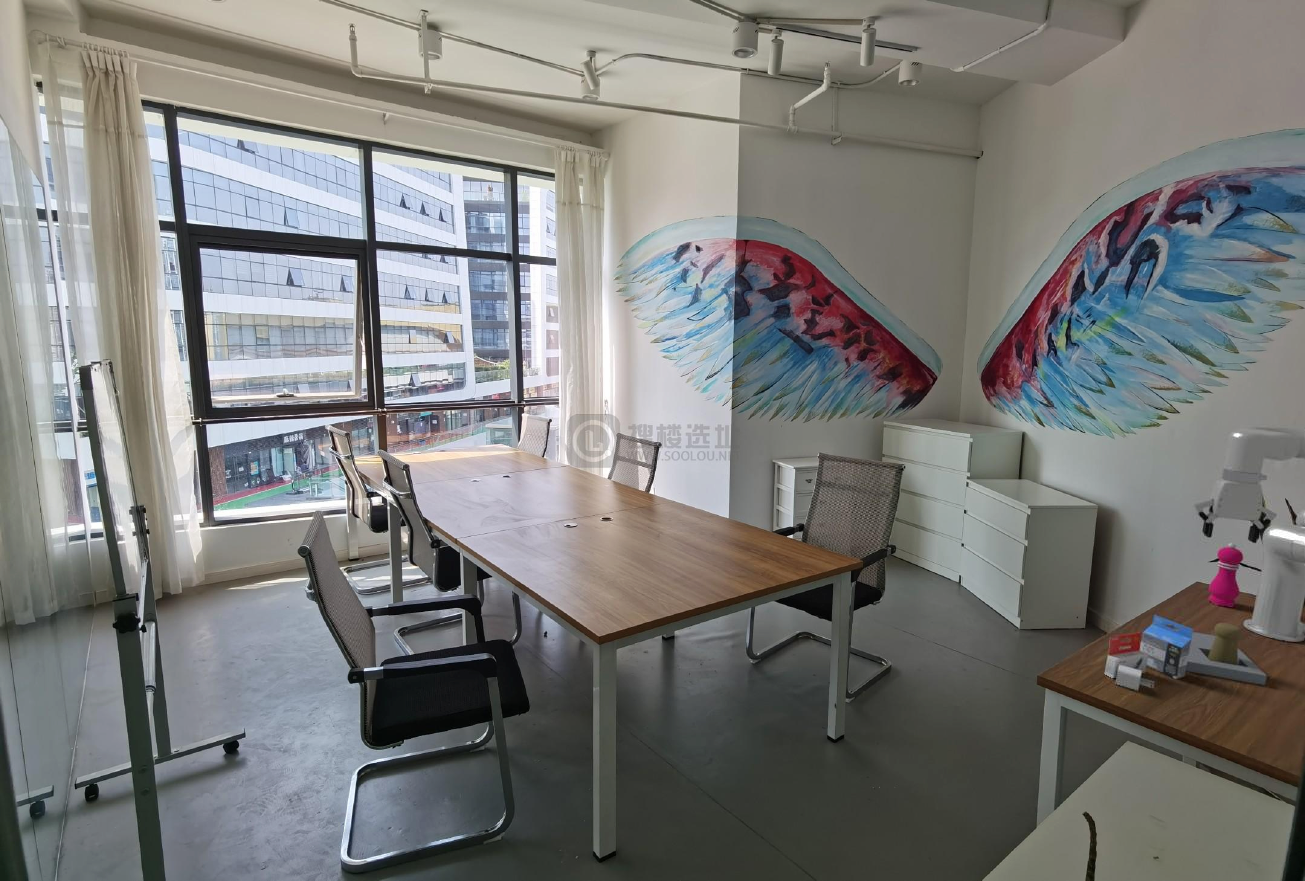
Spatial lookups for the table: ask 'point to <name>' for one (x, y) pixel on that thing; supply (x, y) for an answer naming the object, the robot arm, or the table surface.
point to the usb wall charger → (1131, 678)
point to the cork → (1225, 644)
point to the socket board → (1203, 665)
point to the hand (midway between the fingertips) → (1229, 538)
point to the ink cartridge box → (1125, 654)
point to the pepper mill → (1226, 577)
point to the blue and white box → (1167, 647)
